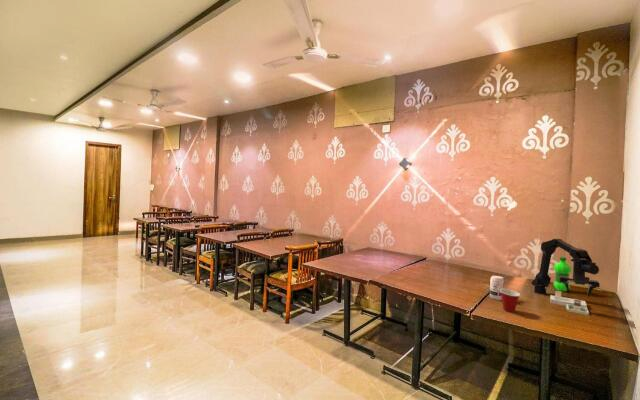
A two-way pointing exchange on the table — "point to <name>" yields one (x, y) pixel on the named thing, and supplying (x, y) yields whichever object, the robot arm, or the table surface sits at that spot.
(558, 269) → the plastic bottle
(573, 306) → the parts tray
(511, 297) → the plastic cup
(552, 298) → the fuse block
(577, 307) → the fuse
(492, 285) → the supplement can
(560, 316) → the table surface
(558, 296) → the fuse
